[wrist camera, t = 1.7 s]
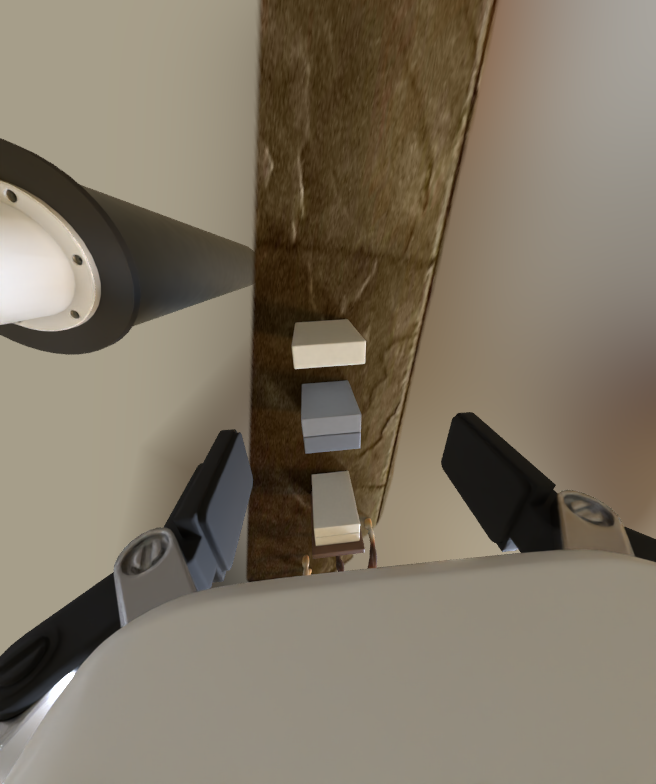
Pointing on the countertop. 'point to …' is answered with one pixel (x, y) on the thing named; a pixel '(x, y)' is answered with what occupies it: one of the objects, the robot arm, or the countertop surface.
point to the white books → (334, 516)
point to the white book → (327, 344)
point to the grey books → (329, 417)
